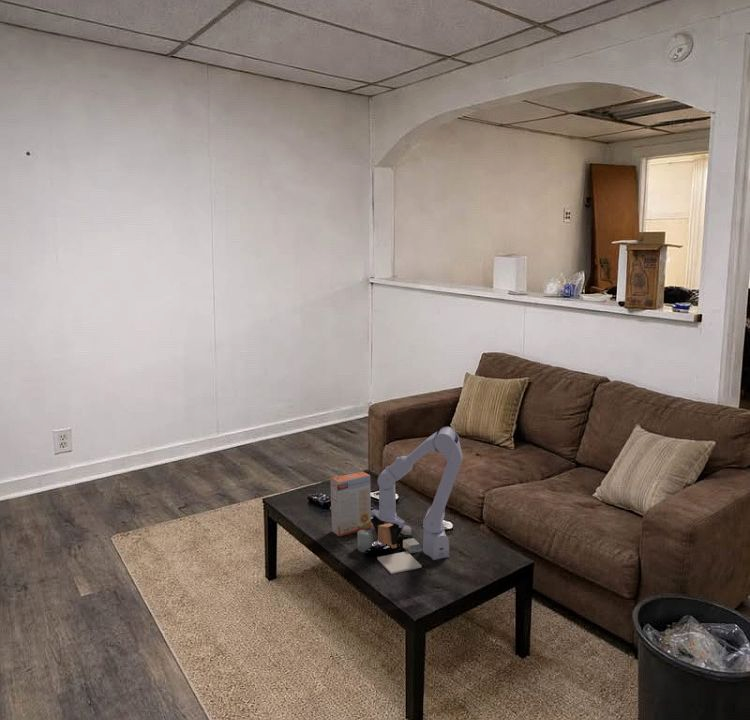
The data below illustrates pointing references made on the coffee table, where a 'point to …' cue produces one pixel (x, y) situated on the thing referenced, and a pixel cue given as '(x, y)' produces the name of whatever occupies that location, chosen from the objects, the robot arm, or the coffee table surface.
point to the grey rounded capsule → (364, 539)
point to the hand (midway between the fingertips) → (387, 540)
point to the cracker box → (350, 503)
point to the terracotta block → (385, 535)
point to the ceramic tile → (399, 562)
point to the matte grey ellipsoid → (406, 530)
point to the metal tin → (411, 545)
